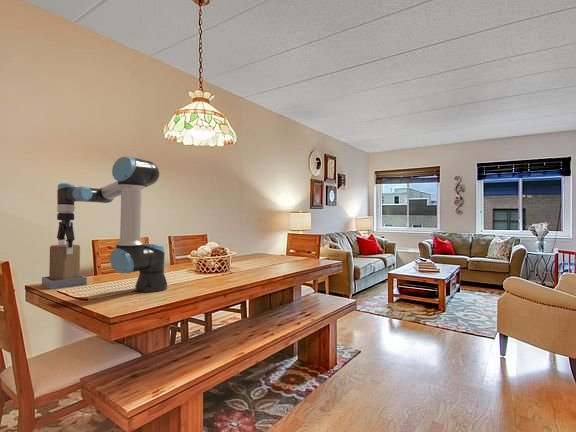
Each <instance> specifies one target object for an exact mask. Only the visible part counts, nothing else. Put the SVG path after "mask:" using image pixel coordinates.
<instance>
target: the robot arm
mask: <svg viewBox="0 0 576 432" xmlns="http://www.w3.org/2000/svg"><path fill="white" fill-rule="evenodd" d="M111 174H112V177H113V179H114V180H115V181H114V182H111V183H110V184H107V185H105V186H103V187H100V188H97V187H96V188H95V187H87V186H75V184H74V183H68V182H67V183H66V182H63V183H62V182H60V183H58V185H57V189H56V192H57V193H56V195H57V197H56V199H57V206H56V212H57V214H56V220H57V221H59V222H58V230H57V235H56V239H57V240H58V241H57V243H58V244H57V245H64V244H65V242H66V254H73V245H74V241H75V233H74V227H73V226H74V225H73V224H74V223H73V222H72V221H74V220H75V214H74V212H75V209H76V206H75V202H86V203H102V204H109V203H112V202H113V201H114V199H115V198H118V197H120V225H119V226H120V229H119V230H120V231H119V241H118V242H117V243H116V244H115V248H114V249H113V250H112V251H111V253H110V255H109V263H110V265H111V268H112V269H113V270H114V271H115V272H117V273H119V274H131V273H135V272H139V273H138V278H137V280H136V283H135V286H134V290H135V292H140V293H154V292H155V293H156V292H161V291H165V290H167V289H168V281H167V279H166V275H165V253H166V252H165V246H164V245H163V244H155V243H153V244H152V243H144V242H143V241H142V240H141V219H142V217H141V216H142V191H143V189H144V188H147V187H149V186H152V185H154V184H155V183H156V182H157V181H158V180H159V179H160V170H159V168H158V166H157V165H156V163H154V162H152V161H149V160H145V159H142V158H137V157H134V156H133V157H132V156H120V157H119V158H117V160H116V161H114V163H113V166H112V169H111Z"/></svg>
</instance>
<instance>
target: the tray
mask: <svg viewBox="0 0 576 432" xmlns="http://www.w3.org/2000/svg"><path fill="white" fill-rule="evenodd" d="M87 281H88V277H87V276H84V275H82V274H80V277H79V278H74V279H65V280H56V281H52V280H50V279H49V275H48V276H42V277H41V286H43V287H45V288H47V289H49V290H50V291H51V290H56V289H64V288H73V287H80V286H81V287H82V286H86V285H88V284H87V283H88V282H87Z"/></svg>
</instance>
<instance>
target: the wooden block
mask: <svg viewBox="0 0 576 432" xmlns="http://www.w3.org/2000/svg"><path fill="white" fill-rule="evenodd" d="M48 267H49V269H48V270H49V271H48V272H49V275H48V276H49V279H50V280H52V281H56V280H65V279H74V278H79V277H80V275H81V273H80V272H81V270H80V268H81V245H79V244H73V254H66V244H64V245H58V244H54V245H53V244H52V245H50V246H49V265H48Z"/></svg>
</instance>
